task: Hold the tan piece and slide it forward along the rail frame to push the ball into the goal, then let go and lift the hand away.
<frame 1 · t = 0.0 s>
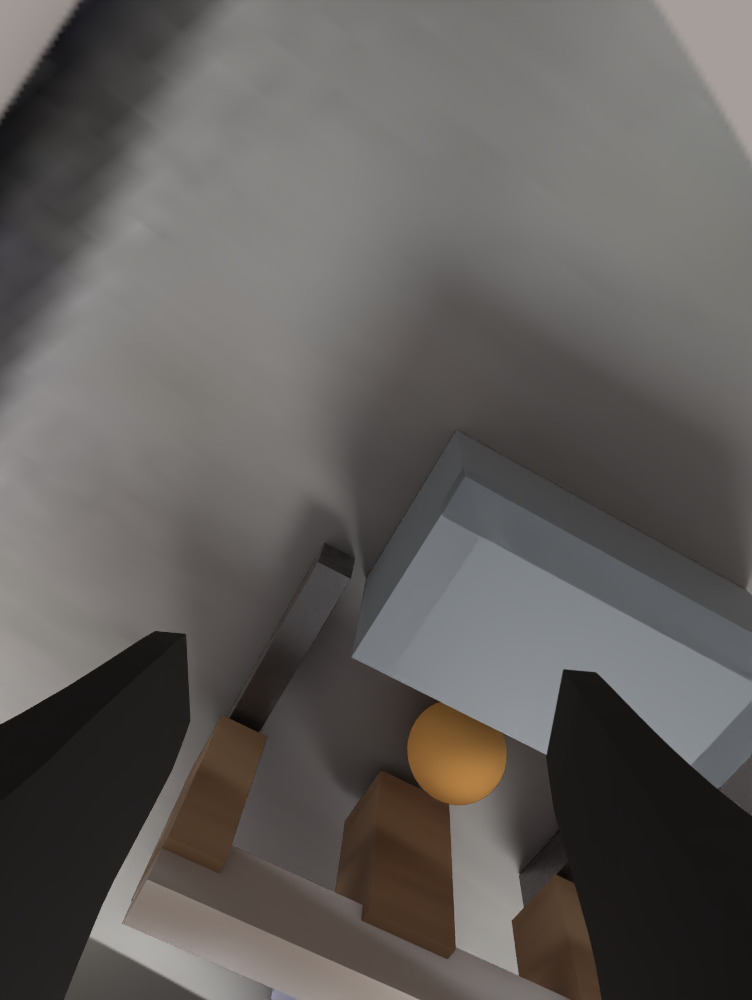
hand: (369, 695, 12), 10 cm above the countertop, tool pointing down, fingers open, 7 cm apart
ball: (456, 750, 23), point 2 cm above the countertop
goal: (542, 598, 23), on the countertop
tan piece: (392, 896, 22), point 4 cm above the countertop, slide at 0.0 cm
rail frame: (444, 731, 25), on the countertop
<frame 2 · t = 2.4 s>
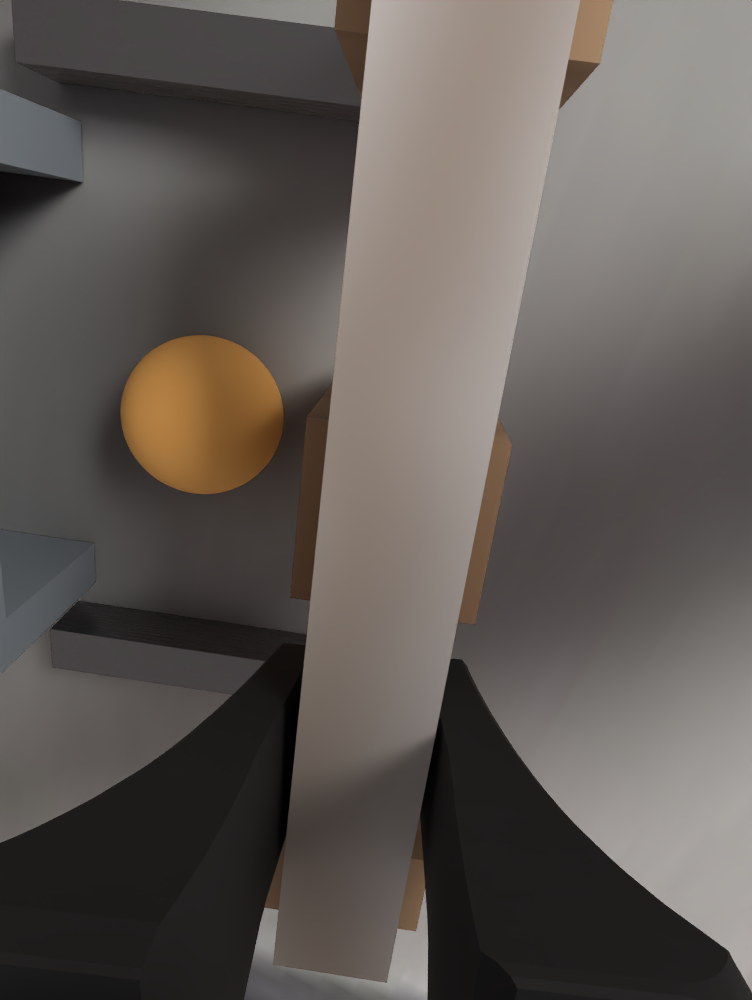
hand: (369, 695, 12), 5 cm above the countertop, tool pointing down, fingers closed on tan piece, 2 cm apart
ball: (204, 415, 14), point 2 cm above the countertop
tan piece: (399, 482, 12), point 4 cm above the countertop, slide at 0.0 cm, touching gripper
rail frame: (256, 404, 16), on the countertop
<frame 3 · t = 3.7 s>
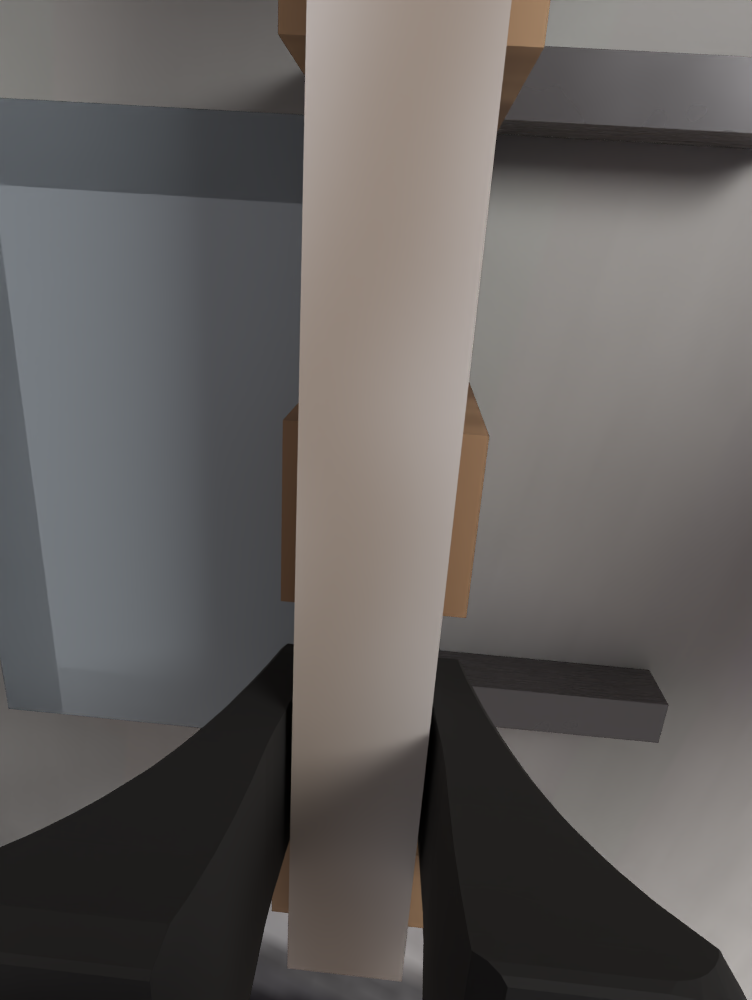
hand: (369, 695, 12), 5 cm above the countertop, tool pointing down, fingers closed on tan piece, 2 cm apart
goal: (236, 411, 16), on the countertop
tan piece: (386, 480, 12), point 4 cm above the countertop, slide at 6.5 cm, touching goal, gripper
rail frame: (507, 432, 16), on the countertop
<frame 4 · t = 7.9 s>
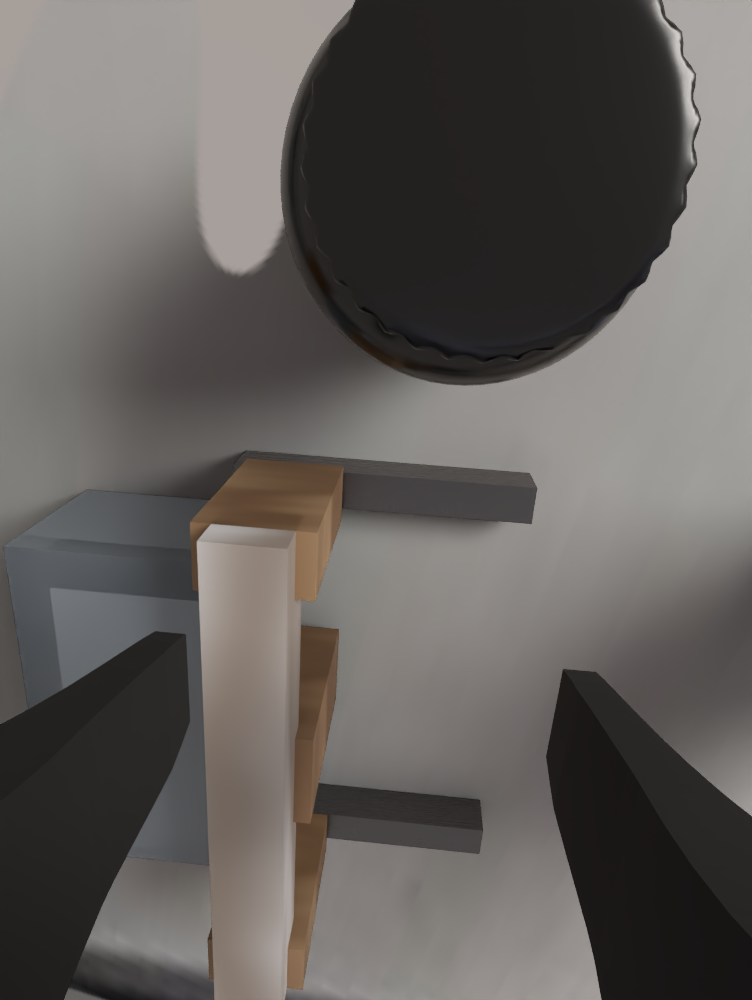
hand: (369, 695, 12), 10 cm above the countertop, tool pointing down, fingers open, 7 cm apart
goal: (196, 638, 24), on the countertop
tan piece: (275, 727, 20), point 4 cm above the countertop, slide at 6.5 cm, touching goal
supplement bottle: (453, 218, 19), on the countertop
rail frame: (372, 655, 24), on the countertop
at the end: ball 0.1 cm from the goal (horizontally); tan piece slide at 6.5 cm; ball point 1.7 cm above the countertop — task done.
